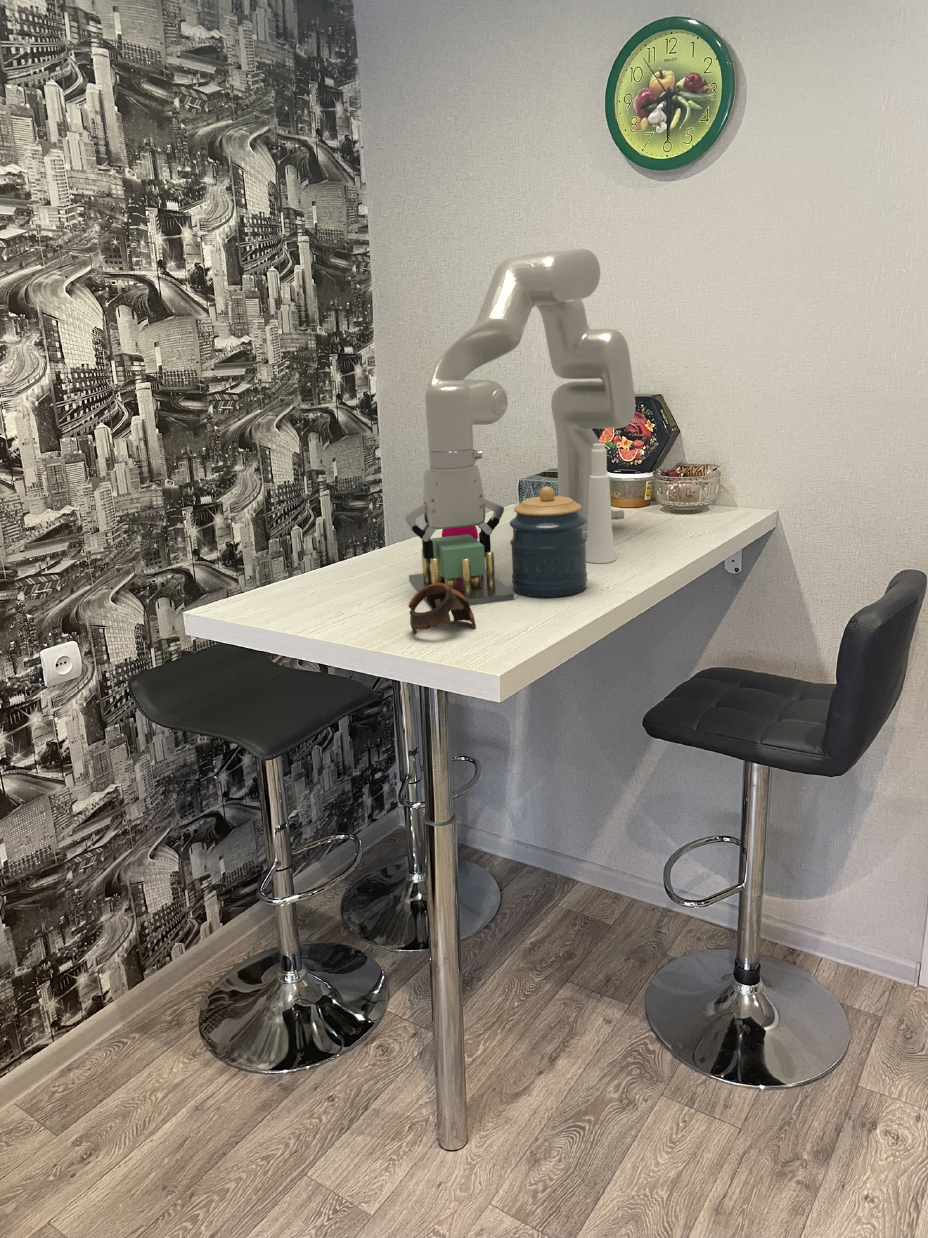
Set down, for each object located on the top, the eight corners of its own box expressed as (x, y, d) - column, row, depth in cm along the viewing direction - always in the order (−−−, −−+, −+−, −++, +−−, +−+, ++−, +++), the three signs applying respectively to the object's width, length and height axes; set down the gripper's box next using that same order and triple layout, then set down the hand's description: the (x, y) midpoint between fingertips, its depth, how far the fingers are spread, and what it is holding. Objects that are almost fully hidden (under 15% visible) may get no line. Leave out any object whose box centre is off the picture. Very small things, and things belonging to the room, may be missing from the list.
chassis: (482, 572, 174) (481, 535, 172) (514, 599, 156) (512, 558, 154) (409, 580, 171) (406, 543, 169) (432, 609, 153) (429, 568, 151)
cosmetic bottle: (621, 561, 176) (620, 444, 170) (591, 565, 175) (589, 446, 168) (608, 554, 182) (607, 440, 175) (579, 558, 181) (577, 443, 174)
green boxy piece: (470, 561, 168) (469, 534, 167) (485, 574, 159) (484, 545, 157) (433, 565, 167) (431, 538, 165) (445, 579, 157) (443, 550, 156)
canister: (541, 603, 153) (538, 496, 148) (497, 587, 164) (493, 487, 158) (603, 588, 159) (602, 485, 154) (556, 574, 170) (554, 477, 165)
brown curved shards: (487, 636, 140) (463, 597, 135) (433, 667, 140) (407, 629, 136) (467, 596, 150) (444, 559, 145) (416, 626, 150) (391, 589, 146)
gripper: (495, 453, 162) (499, 549, 167) (397, 461, 158) (404, 559, 164) (507, 458, 155) (511, 558, 160) (405, 467, 152) (412, 569, 157)
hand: (457, 559), depth 162 cm, fingers open, 9 cm apart
